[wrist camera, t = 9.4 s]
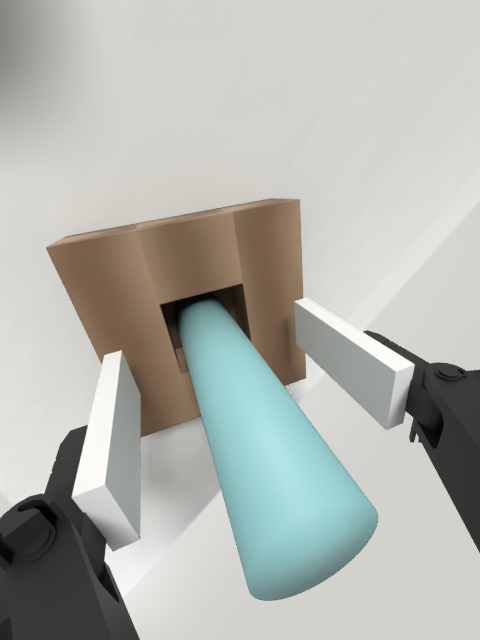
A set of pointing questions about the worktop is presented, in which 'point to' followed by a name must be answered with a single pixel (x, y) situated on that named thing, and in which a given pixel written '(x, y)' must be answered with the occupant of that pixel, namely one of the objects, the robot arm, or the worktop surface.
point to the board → (187, 293)
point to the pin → (269, 461)
